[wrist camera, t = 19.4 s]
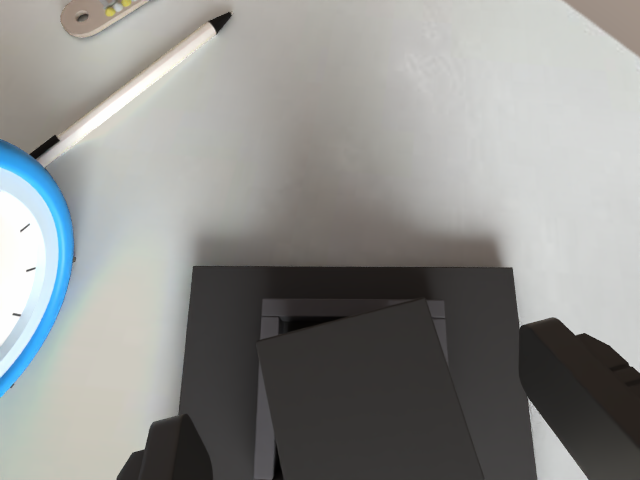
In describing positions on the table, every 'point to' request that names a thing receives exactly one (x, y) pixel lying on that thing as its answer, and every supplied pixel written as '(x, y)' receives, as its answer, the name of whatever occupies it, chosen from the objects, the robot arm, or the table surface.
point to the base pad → (332, 304)
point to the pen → (127, 92)
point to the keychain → (95, 15)
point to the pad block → (367, 400)
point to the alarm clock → (30, 258)
